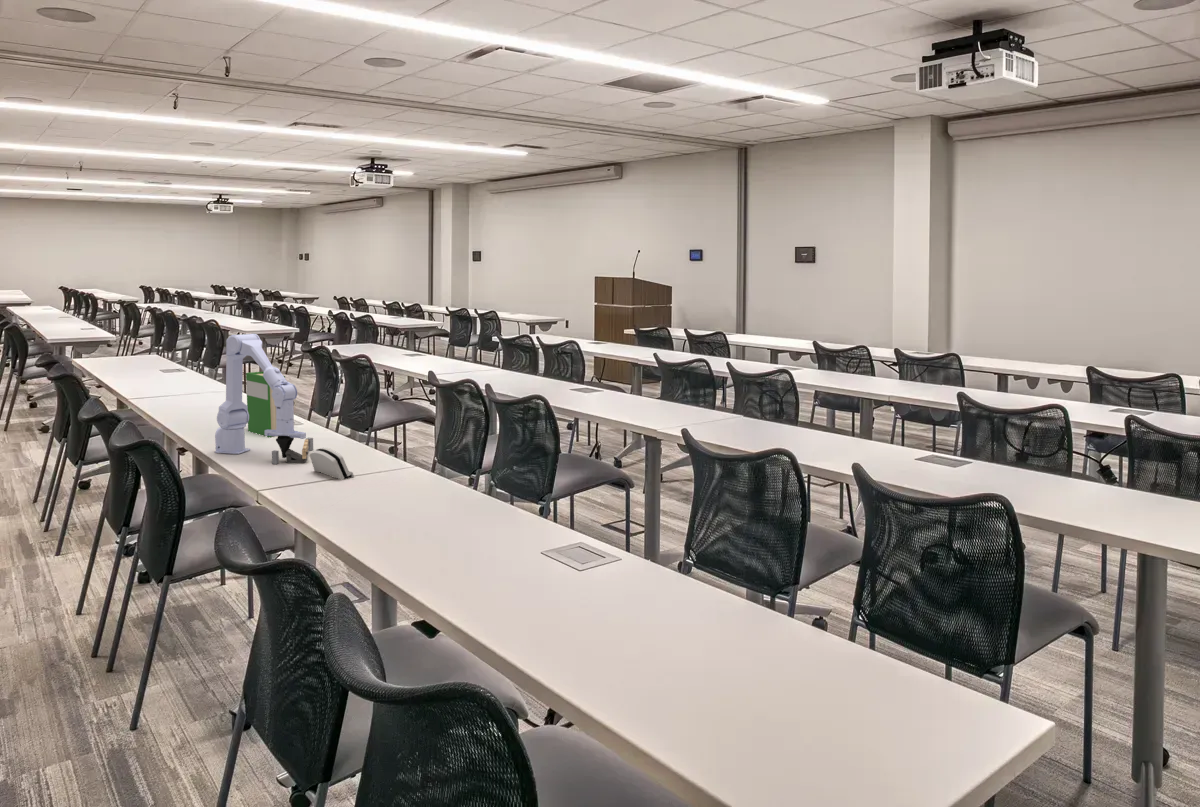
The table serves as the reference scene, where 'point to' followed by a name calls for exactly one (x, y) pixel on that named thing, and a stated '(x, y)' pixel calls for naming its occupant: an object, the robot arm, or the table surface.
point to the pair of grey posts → (276, 454)
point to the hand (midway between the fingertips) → (285, 457)
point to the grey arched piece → (329, 463)
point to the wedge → (294, 457)
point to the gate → (305, 449)
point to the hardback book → (260, 404)
